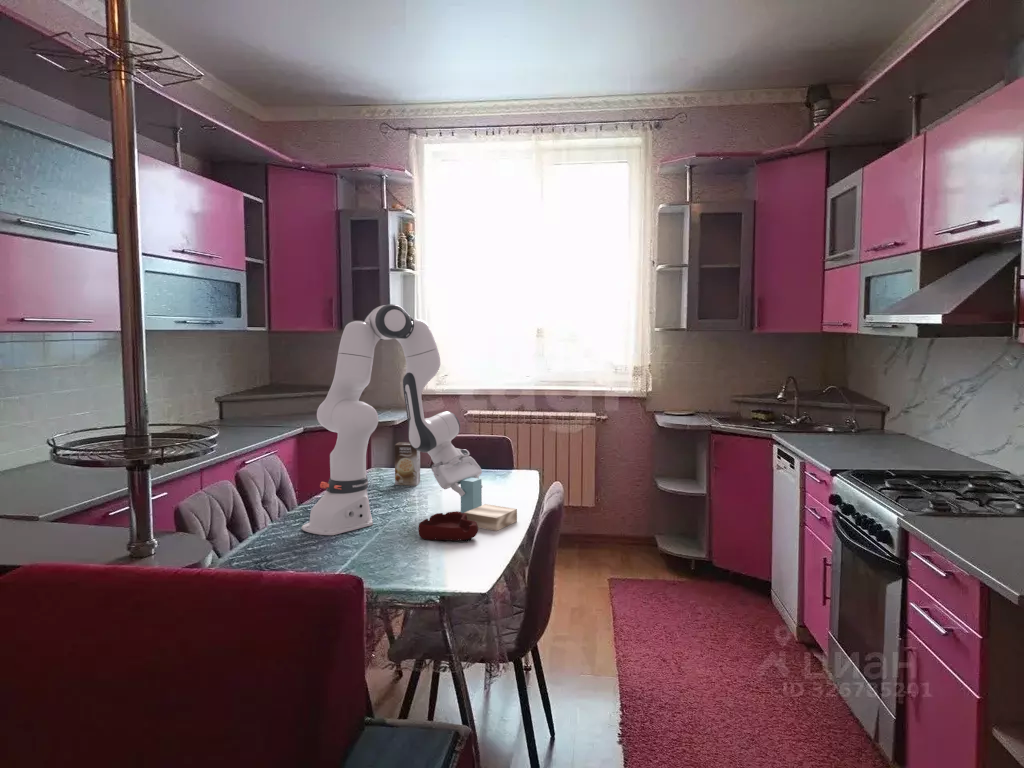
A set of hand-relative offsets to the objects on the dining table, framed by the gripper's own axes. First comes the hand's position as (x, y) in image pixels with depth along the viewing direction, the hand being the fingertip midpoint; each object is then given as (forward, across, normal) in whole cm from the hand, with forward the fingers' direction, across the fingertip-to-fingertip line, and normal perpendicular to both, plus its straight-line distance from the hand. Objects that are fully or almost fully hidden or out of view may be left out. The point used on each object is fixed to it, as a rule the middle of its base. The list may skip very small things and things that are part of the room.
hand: (472, 491), depth 229 cm
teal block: (+4, 0, +5) cm, 7 cm away
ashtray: (+11, -26, -1) cm, 28 cm away
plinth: (+14, -8, -4) cm, 16 cm away
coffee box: (-27, +21, +37) cm, 50 cm away
